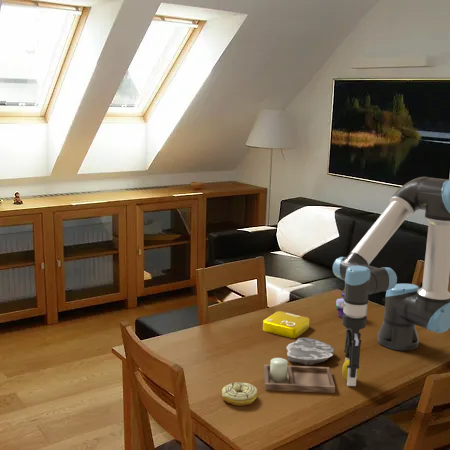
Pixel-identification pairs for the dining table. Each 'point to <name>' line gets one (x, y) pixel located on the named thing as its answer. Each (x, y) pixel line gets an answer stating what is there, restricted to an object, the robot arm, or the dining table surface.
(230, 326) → the dining table surface
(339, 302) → the potion bottle
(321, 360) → the brain slice
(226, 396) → the decorated donut
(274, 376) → the white capsule pill
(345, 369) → the lemon
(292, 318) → the element tile
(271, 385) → the organizer
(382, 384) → the dining table surface
